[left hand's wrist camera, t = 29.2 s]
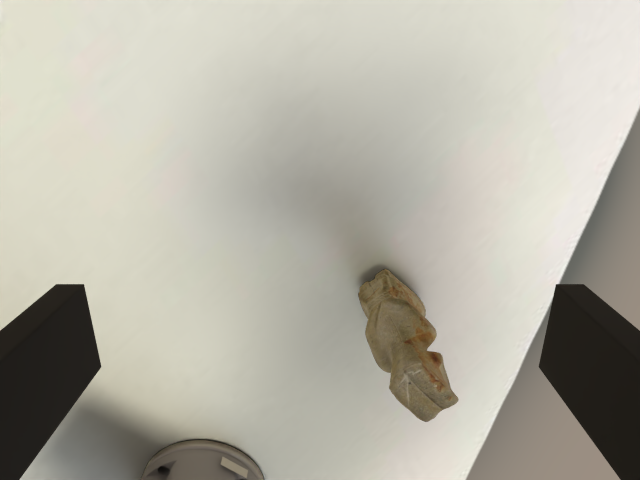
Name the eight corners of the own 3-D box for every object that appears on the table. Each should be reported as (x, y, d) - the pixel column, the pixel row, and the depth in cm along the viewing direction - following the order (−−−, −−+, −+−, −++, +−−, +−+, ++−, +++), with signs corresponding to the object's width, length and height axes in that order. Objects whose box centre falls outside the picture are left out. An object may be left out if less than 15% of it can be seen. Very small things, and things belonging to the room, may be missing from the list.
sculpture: (385, 332, 48) (412, 441, 34) (345, 284, 46) (356, 379, 32) (431, 303, 47) (478, 403, 33) (392, 252, 45) (424, 337, 31)
